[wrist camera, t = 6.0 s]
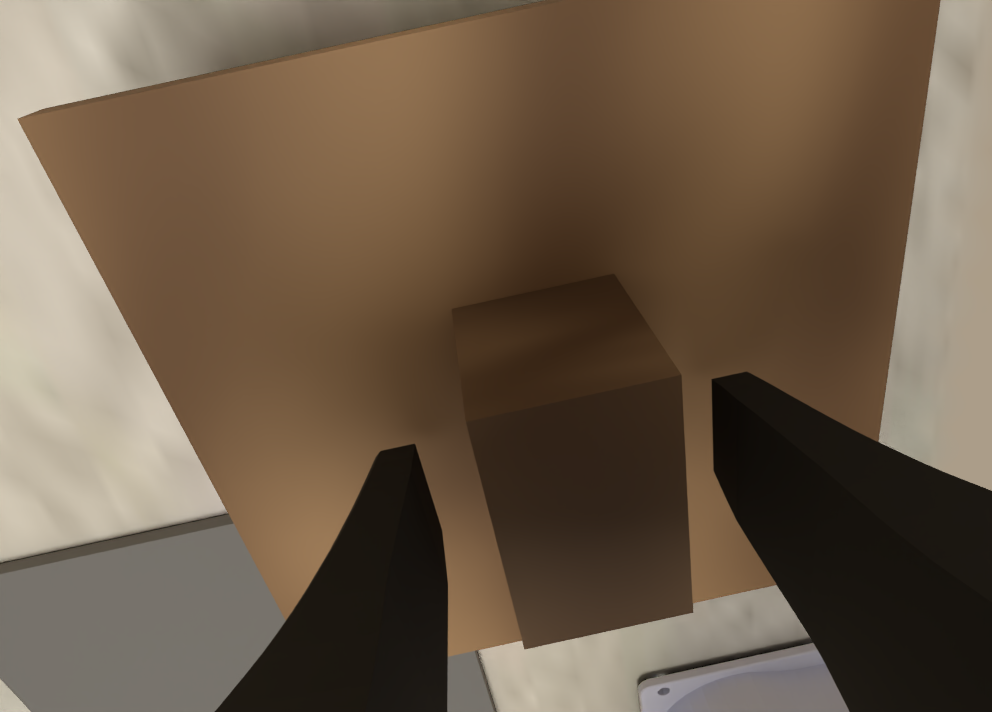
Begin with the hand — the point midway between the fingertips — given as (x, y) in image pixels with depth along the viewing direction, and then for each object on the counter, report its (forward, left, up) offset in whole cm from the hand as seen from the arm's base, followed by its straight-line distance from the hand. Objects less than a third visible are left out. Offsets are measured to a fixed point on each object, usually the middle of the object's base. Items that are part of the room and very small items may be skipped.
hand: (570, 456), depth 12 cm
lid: (0, 0, -3) cm, 3 cm away
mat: (+12, +14, -8) cm, 20 cm away
